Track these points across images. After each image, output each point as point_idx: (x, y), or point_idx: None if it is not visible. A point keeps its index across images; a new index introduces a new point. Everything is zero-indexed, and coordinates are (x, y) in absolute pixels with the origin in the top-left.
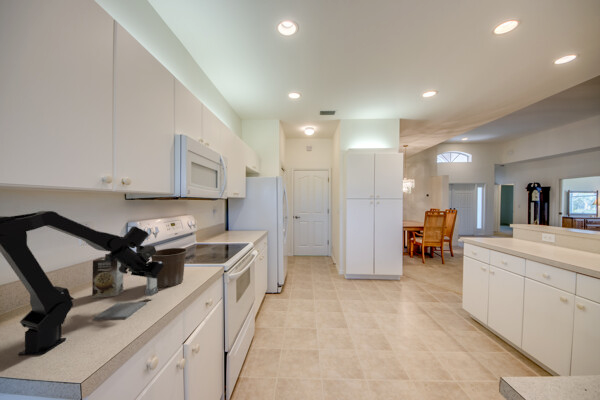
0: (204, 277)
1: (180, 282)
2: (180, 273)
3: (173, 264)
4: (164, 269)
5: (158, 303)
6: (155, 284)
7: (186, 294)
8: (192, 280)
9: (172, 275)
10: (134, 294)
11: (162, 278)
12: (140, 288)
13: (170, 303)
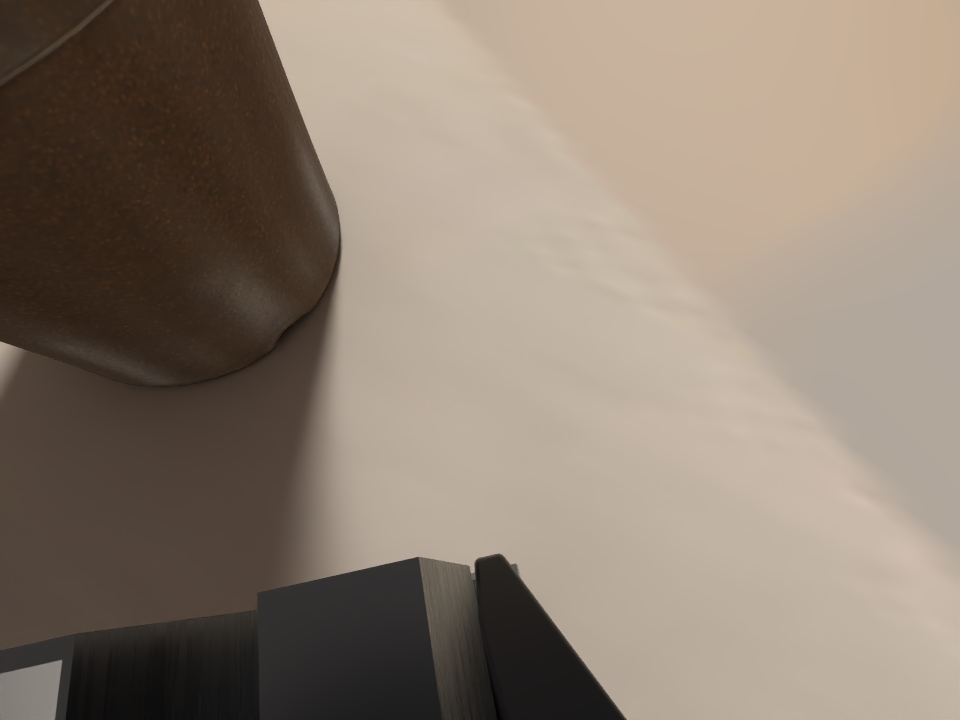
0: (411, 24)
1: (333, 197)
2: (297, 107)
3: (182, 6)
4: (114, 200)
5: (712, 663)
6: None
7: (706, 318)
8: (374, 109)
9: (276, 198)
10: None
11: (189, 313)
12: (2, 524)
13: (843, 568)
